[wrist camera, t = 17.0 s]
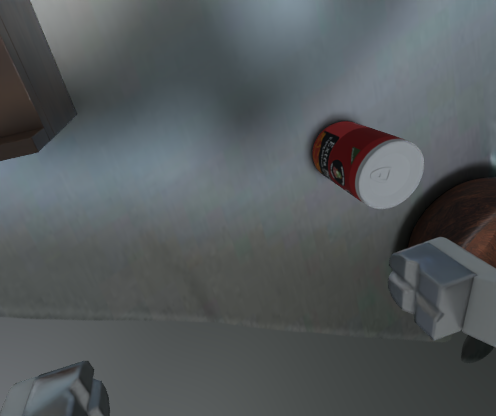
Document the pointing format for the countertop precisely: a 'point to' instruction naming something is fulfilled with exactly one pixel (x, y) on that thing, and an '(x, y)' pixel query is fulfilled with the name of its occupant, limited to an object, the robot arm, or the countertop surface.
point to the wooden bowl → (463, 219)
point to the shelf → (28, 84)
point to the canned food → (369, 163)
